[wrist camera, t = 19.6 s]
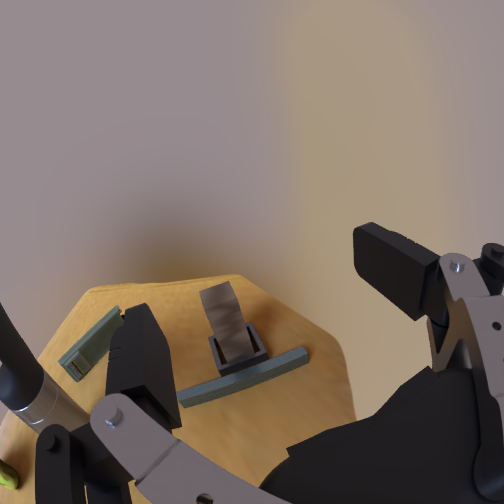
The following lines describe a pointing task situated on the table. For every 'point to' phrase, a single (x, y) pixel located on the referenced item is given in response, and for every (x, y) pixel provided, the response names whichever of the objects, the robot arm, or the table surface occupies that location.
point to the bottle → (8, 476)
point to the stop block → (227, 321)
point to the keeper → (242, 371)
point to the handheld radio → (92, 345)
